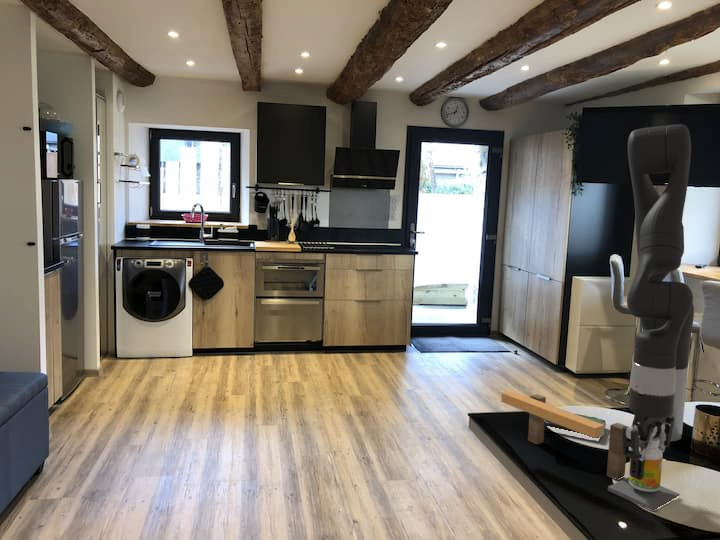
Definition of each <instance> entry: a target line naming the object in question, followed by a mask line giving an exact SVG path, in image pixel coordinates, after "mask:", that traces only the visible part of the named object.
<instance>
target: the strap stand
mask: <svg viewBox="0 0 720 540" xmlns="http://www.w3.org/2000/svg"><path fill="white" fill-rule="evenodd" d="M530 398H532V399H535V400H538V401H541V402H543V403H546V401H547V397H546V396H544V395H540V394H539V393H538V394H537V393H536V394H533V395H530ZM546 404H547V403H546ZM528 416H529V417H528V435H527V440H528V442H531V443H532V444H534V445H539V444H541V443H544V440H545V439H544V438H545V437H544V436H545V431H544V422H545V419H544V418H541V417H539V416H536V415H533V414H531V413H529V415H528ZM609 425H610V427H609V440H608V453H607V465H606V476H607V477H609V478H611V479H613V478H616V479H619V478H621V477H623V476H624V475H626V462H627V456H624V455H623V437H622V429H623V427H624V426H626V427H629V426H627V425H626V424H625V425H624V424H623V423H620V422H616V423H613V424H609Z"/></svg>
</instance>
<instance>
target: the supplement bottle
mask: <svg viewBox="0 0 720 540" xmlns="http://www.w3.org/2000/svg"><path fill="white" fill-rule="evenodd" d="M639 442H640V443H643V444H644V443H645V441H642V440H640V439H639ZM659 443H660V439H659V437H657V438H655V439H653V441H652V444H651V447H650V449H649V450H647V451H646V454H645V458H644V471H643V478H642V479H640V480H639V479H636V478H634V477H632V476H631V475H630V468H628V469H629V470H628V477H629V483H630V485H631V486H633V487H634V488H636V489H638V490H641V491H646V492H655V491H658V490H659V488H660V486H661V480H662V478H661V477H662V469H663V468H662V466H663V452H662V451H661V450H660V449H659V448H658V447H659ZM640 451H641V447H640V446H639V453H640ZM630 464H631V458H630V457H629V465H630Z"/></svg>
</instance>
